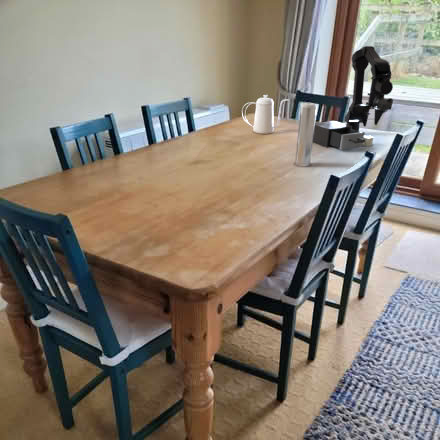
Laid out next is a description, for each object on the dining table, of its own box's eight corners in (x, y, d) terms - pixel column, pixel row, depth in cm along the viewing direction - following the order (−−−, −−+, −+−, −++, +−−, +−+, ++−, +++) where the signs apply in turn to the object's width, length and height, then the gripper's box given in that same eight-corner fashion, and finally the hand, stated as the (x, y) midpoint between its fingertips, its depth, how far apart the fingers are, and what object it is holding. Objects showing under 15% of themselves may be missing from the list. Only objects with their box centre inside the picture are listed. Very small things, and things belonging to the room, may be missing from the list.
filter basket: (358, 144, 228) (360, 136, 226) (367, 142, 230) (368, 135, 228) (366, 146, 224) (368, 138, 222) (374, 145, 226) (376, 137, 224)
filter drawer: (369, 149, 217) (372, 134, 213) (348, 152, 212) (350, 137, 208) (344, 140, 230) (347, 126, 226) (324, 143, 224) (325, 129, 221)
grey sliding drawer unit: (349, 143, 228) (352, 126, 224) (326, 147, 222) (329, 129, 218) (331, 137, 238) (334, 120, 234) (309, 140, 233) (311, 123, 228)
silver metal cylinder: (309, 167, 195) (316, 105, 182) (294, 166, 196) (300, 104, 183) (310, 162, 201) (317, 102, 187) (295, 161, 202) (301, 101, 188)
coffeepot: (287, 135, 242) (290, 97, 232) (240, 133, 244) (241, 96, 234) (286, 130, 251) (290, 93, 241) (241, 128, 253) (243, 92, 243)
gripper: (374, 95, 204) (367, 131, 213) (403, 92, 212) (396, 127, 220) (356, 91, 212) (351, 126, 221) (386, 88, 220) (379, 122, 228)
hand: (370, 125), depth 222 cm, fingers open, 7 cm apart
